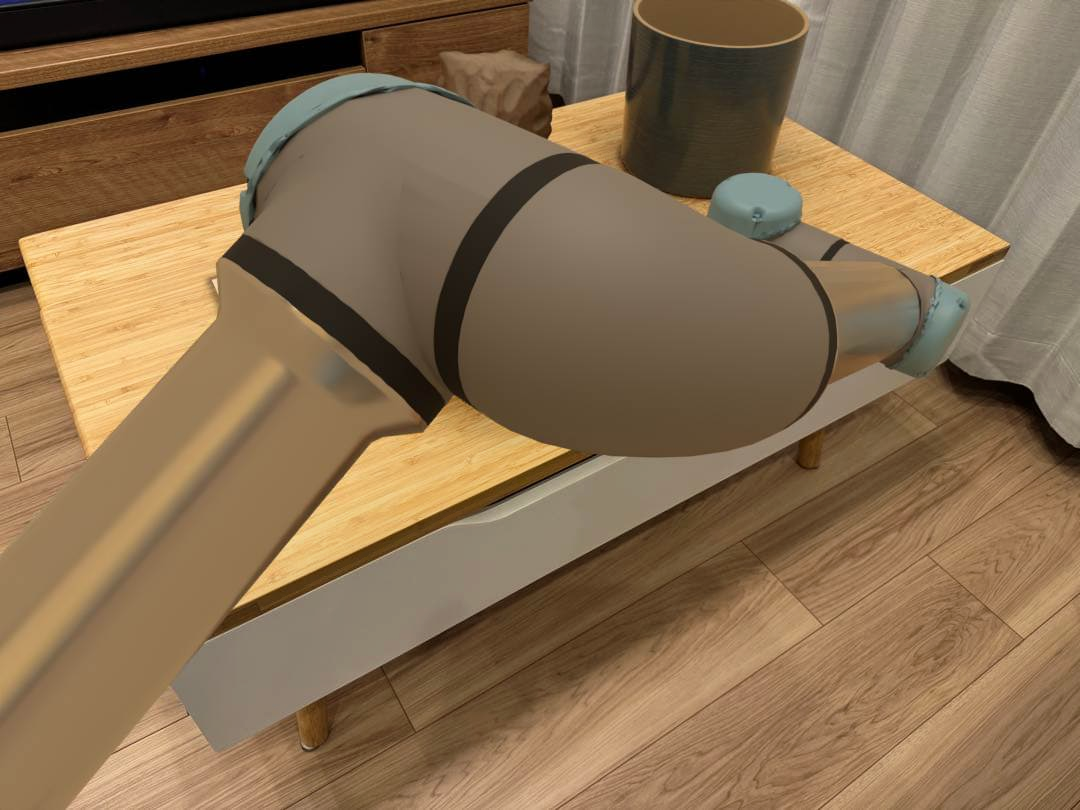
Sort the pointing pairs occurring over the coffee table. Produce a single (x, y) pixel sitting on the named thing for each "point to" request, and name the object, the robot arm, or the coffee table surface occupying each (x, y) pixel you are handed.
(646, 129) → the planter
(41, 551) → the robot arm
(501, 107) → the brown wrinkled upright block
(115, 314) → the coffee table surface
